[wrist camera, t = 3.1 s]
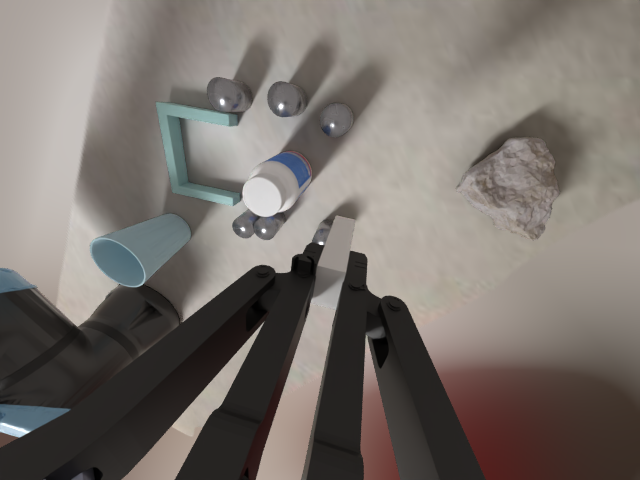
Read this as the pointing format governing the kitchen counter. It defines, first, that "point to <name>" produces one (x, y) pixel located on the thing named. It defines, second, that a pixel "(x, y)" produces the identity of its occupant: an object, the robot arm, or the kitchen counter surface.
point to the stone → (514, 186)
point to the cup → (139, 249)
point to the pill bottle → (277, 183)
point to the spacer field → (283, 104)
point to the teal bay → (175, 150)
